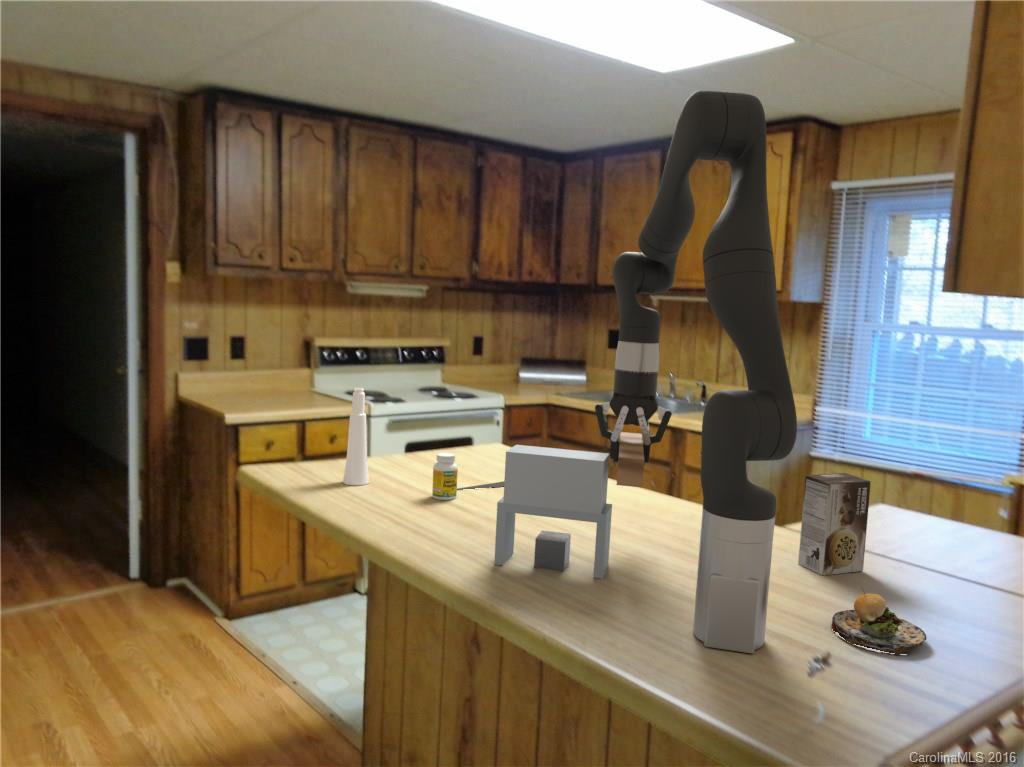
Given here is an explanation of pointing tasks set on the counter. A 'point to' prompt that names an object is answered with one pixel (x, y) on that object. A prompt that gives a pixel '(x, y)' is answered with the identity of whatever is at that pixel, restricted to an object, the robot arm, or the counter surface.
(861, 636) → the burger
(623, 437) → the bar
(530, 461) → the cabinet
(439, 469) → the supplement bottle
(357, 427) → the cosmetic bottle
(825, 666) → the counter surface
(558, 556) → the cube
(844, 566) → the coffee box
